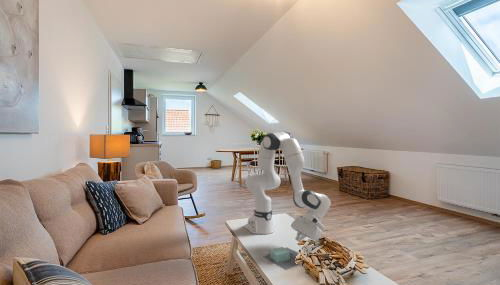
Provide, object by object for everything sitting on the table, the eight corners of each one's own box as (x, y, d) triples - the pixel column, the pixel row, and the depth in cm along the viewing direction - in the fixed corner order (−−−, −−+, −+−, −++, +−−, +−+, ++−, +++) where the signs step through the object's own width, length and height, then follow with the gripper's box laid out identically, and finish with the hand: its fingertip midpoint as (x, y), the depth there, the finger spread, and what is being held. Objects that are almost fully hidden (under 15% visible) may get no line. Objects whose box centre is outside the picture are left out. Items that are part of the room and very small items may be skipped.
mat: (263, 257, 131) (263, 256, 131) (286, 248, 142) (286, 247, 142) (285, 271, 118) (285, 270, 118) (310, 259, 128) (310, 258, 128)
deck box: (282, 254, 134) (270, 257, 130) (282, 246, 134) (270, 249, 130) (289, 259, 128) (276, 262, 124) (289, 251, 128) (276, 255, 124)
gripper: (296, 211, 146) (283, 230, 142) (320, 222, 128) (306, 244, 124) (302, 218, 149) (289, 236, 144) (327, 229, 130) (313, 251, 126)
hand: (297, 240), depth 134 cm, fingers closed
